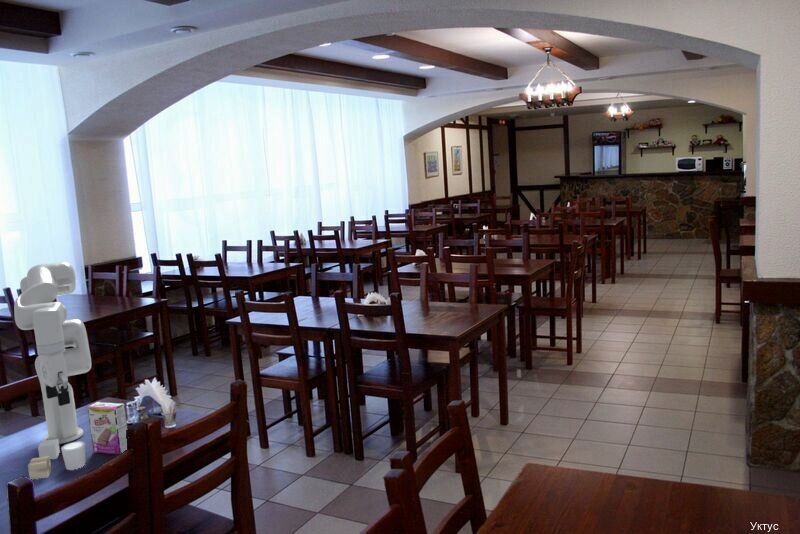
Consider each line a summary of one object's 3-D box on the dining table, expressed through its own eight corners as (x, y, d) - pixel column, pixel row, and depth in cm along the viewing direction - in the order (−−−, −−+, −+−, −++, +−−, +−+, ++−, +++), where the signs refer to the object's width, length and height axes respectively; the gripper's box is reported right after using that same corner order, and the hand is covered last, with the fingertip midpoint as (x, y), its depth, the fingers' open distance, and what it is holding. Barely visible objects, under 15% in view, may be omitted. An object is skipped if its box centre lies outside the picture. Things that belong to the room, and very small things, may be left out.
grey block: (43, 455, 223) (41, 441, 222) (60, 452, 224) (58, 438, 223) (40, 461, 218) (37, 447, 217) (56, 459, 219) (54, 444, 218)
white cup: (78, 471, 209) (75, 450, 208) (59, 470, 210) (56, 449, 209) (92, 461, 216) (89, 441, 214) (73, 460, 217) (70, 440, 216)
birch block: (34, 473, 209) (32, 458, 209) (51, 470, 211) (49, 455, 210) (30, 480, 205) (27, 465, 204) (47, 477, 206) (45, 462, 205)
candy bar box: (92, 453, 222) (86, 406, 219) (102, 446, 227) (96, 401, 224) (121, 455, 219) (114, 408, 216) (130, 449, 224) (125, 402, 221)
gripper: (28, 345, 206) (35, 398, 209) (48, 356, 194) (56, 411, 197) (53, 340, 211) (60, 391, 214) (74, 349, 200) (82, 403, 203)
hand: (58, 400), depth 206 cm, fingers open, 9 cm apart
